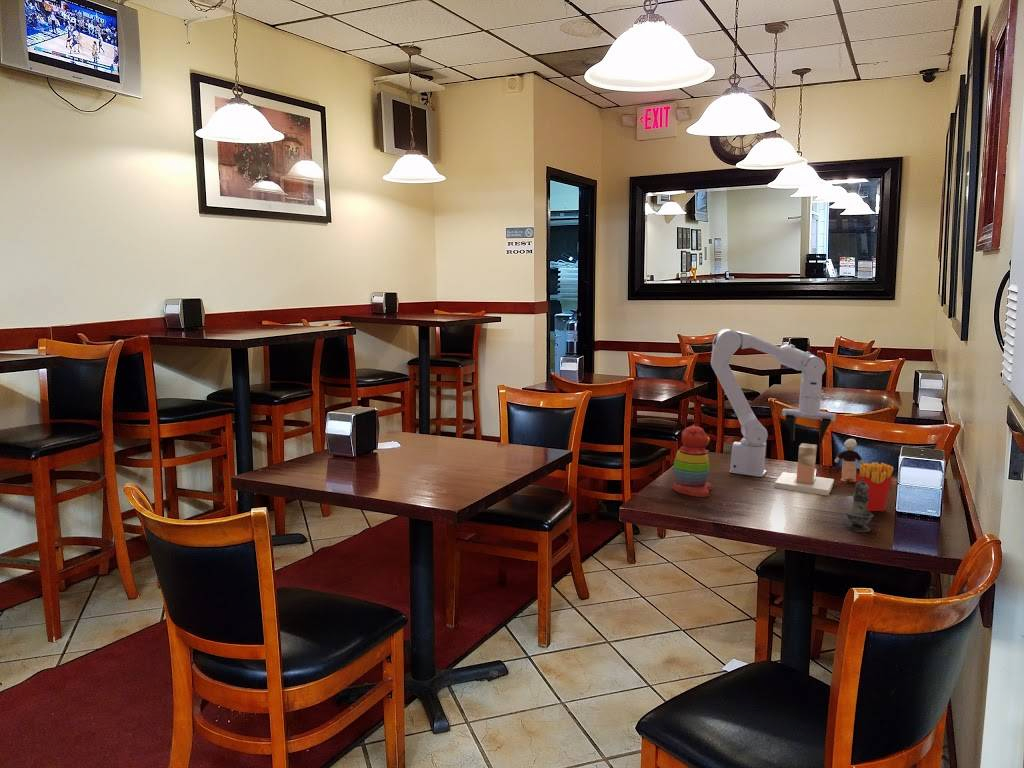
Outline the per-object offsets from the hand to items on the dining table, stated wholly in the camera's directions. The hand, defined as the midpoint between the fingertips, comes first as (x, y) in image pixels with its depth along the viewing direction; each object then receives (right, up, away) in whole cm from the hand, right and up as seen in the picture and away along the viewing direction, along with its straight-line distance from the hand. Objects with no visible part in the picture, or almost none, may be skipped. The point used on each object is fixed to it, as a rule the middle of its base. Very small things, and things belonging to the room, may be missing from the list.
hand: (806, 442), depth 227 cm
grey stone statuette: (-5, -17, -45) cm, 49 cm away
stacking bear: (-38, -12, -18) cm, 44 cm away
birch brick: (-4, -5, -10) cm, 12 cm away
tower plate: (-4, -12, -9) cm, 15 cm away
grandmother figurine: (+11, -11, -2) cm, 16 cm away
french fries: (+5, -15, -30) cm, 34 cm away
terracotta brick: (-4, -10, -9) cm, 14 cm away
